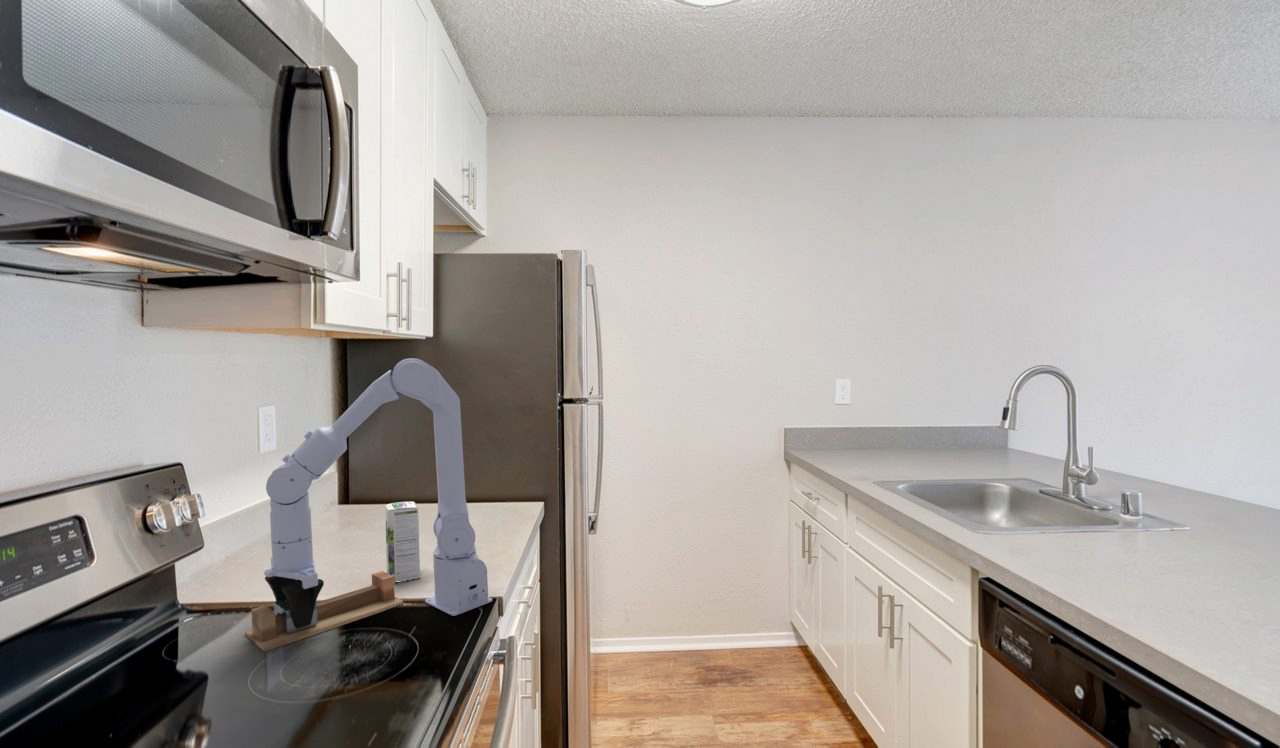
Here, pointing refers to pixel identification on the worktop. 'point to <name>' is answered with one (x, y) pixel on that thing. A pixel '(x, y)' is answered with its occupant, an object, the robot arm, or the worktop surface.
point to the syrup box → (402, 541)
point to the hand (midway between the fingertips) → (295, 620)
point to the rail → (325, 613)
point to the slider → (290, 615)
